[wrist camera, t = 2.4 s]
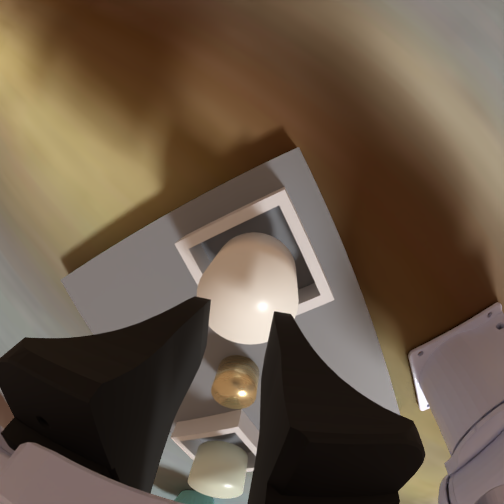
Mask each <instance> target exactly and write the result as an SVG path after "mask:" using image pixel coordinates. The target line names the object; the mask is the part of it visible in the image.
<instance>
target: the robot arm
mask: <svg viewBox="0 0 504 504" xmlns="http://www.w3.org/2000/svg"><path fill="white" fill-rule="evenodd" d="M210 305H211V299H206V298H201V297H196V296H194V297H192V298H190V299H188V300H186V301H184V302H182V303H180V304H178V305H177V306H175V307H173V308H171V309H169V310H167V311H165V312H163V313H161V314H158V315H156V316H154V317H152V318H149V319H147V320H145V321H142V322H140V323H137V324H134V325H131V326H128V327H125V328H122V329H118V330H115V331H110V332H105V333H100V334H95V335H90V336H83V337H73V338H26V337H25V338H24V339H23V340H21V341H20V342H19V343H18V344H16V345H15V346H14V347H13V348H12V349H10V350H9V351H8V352H7V353H6V354H4V355H3V356H2V357H1V358H0V388H1V390H2V392H3V394H4V397H5V399H6V401H7V403H8V405H9V407H10V409H11V411H12V413H13V415H14V419H13V420H12V421H11V422H10V423H9V424H8V425H7V427H6V428H5V429H4V428H3V427H1V426H0V504H184V503H180V502H176V501H173V500H169V499H166V498H163V497H159V496H156V495H153V494H150V493H151V489H152V486H153V482H154V479H155V475H156V472H157V469H158V466H159V462H160V459H161V456H162V453H163V450H164V447H165V444H166V441H167V438H168V435H169V432H170V429H171V427H172V424H173V421H174V418H175V416H176V414H177V412H178V409H179V407H180V405H181V403H182V401H183V399H184V397H185V395H186V393H187V391H188V390H189V388H190V386H191V384H192V382H193V380H194V377H195V375H196V373H197V371H198V369H199V367H200V364H201V362H202V359H203V356H204V352H205V349H206V346H207V336H208V325H209V315H210ZM488 313H489V314H488ZM420 351H421V353H419V352H420ZM418 353H419V354H418ZM408 358H409V362H410V367H411V371H412V375H413V380H414V385H415V390H416V395H417V400H418V405H419V409H420V410H421V411H424V410H426V409H428V408H430V409H431V411H432V413H433V415H434V418H435V420H436V422H437V424H438V426H439V429H440V431H441V433H442V436H443V438H444V440H445V443H446V445H447V447H448V450H449V452H450V455H451V458H450V459H449V460H448V461H447V462H445V467H446V469H447V472H448V475H446V476H445V477H444V478H443V480H442V482H441V484H440V488H439V496H438V504H504V313H502V305H501V304H500V303H499V302H497V303H495V304H493V305H492V306H490V307H489V308H487V309H485V310H484V311H482V312H481V313H479V314H477V315H476V316H474V317H472V318H471V319H469V320H467V321H466V322H464V323H462V324H460V325H459V326H457V327H455V328H453V329H452V330H450V331H448V332H446V333H444V334H443V335H441V336H439V337H437V338H435V339H433V340H431V341H429V342H427V343H425V344H423V345H421V346H419V347H417V348H415V349H413V350H412V351H410V352H409V354H408ZM424 458H425V451H424V447H423V444H422V441H421V439H420V436H419V433H418V431H417V428H416V426H415V424H414V422H413V421H412V420H410V419H407V418H405V417H403V416H401V415H398V414H396V413H394V412H392V411H390V410H388V409H386V408H384V407H382V406H380V405H379V404H377V403H375V402H373V401H372V400H370V399H368V398H367V397H365V396H364V395H362V394H361V393H359V392H358V391H357V390H355V389H354V388H353V387H351V386H350V385H349V384H348V383H346V382H345V381H344V380H343V379H341V378H340V377H339V376H338V375H337V374H336V373H335V372H334V371H333V370H332V369H331V368H330V367H329V366H328V365H327V364H326V363H325V362H324V361H323V360H322V359H321V358H320V356H319V355H318V354H317V353H316V351H315V350H314V349H313V348H312V346H311V345H310V343H309V342H308V340H307V339H306V338H305V336H304V335H303V333H302V331H301V330H300V328H299V326H298V325H297V323H296V321H295V319H294V318H293V316H292V315H291V314H288V313H282V312H276V311H274V314H273V319H272V323H271V328H270V333H269V338H268V342H267V347H266V352H265V356H264V363H263V369H262V376H261V396H260V428H259V439H258V446H257V452H256V458H255V465H254V471H253V476H252V482H251V488H250V493H249V499H248V504H399V502H400V499H399V495H398V491H399V490H400V489H401V488H402V487H403V486H404V485H405V484H406V483H407V482H408V480H409V479H410V478H411V477H412V476H413V475H414V474H415V473H416V472H417V470H418V469H419V468H420V466H421V465H422V463H423V461H424Z"/></svg>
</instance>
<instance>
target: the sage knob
mask: <svg viewBox="0 0 504 504" xmlns="http://www.w3.org/2000/svg"><path fill="white" fill-rule="evenodd" d="M247 463H248V455H247V453H246V452H245V451H244V450H243V449H242V448H240V447H239V446H237V445H234V444H232V443H228V442H224V441H207V442H204V443H202V444H200V445H199V447H198V449H197V452H196V455H195V459H194V462H193V465H192V468H191V471H190V474H189V478H188V484H189V485H190V487H192V488H193V489H194V490H196V491H197V492H199V493H202V494H204V495H207V496H211V497H215V498H235V497H238V496H240V495H241V494H242V493H243V488H244V482H245V476H246V470H247Z"/></svg>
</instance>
